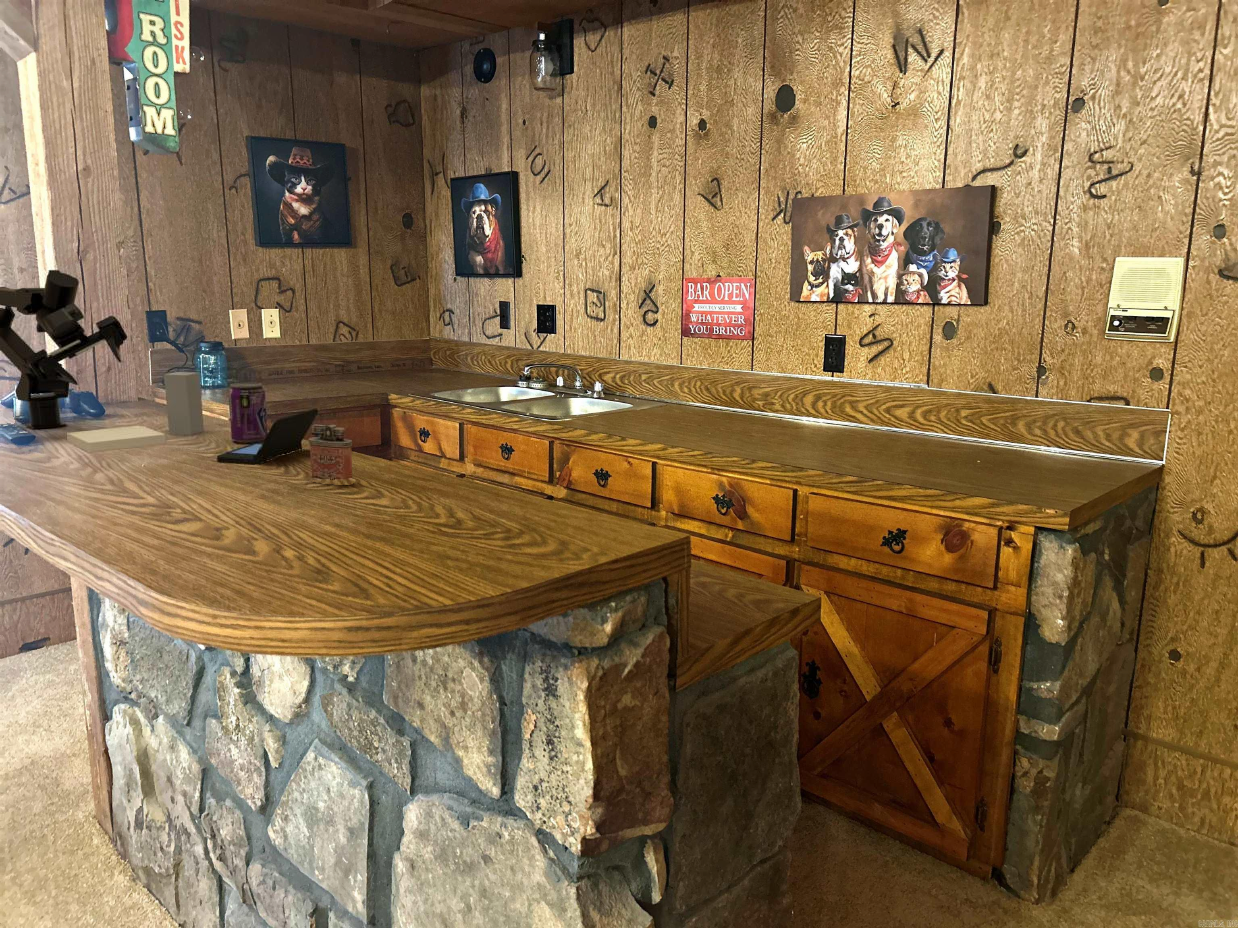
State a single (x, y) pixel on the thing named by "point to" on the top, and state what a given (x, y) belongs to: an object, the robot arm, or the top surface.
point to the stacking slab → (115, 438)
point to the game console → (274, 440)
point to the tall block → (184, 403)
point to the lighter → (330, 453)
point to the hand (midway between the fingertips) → (98, 371)
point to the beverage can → (248, 412)
